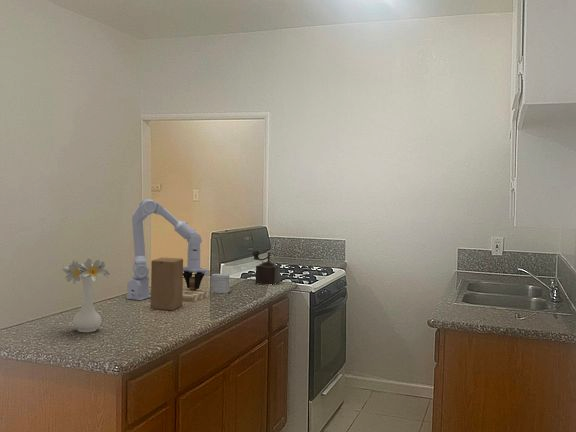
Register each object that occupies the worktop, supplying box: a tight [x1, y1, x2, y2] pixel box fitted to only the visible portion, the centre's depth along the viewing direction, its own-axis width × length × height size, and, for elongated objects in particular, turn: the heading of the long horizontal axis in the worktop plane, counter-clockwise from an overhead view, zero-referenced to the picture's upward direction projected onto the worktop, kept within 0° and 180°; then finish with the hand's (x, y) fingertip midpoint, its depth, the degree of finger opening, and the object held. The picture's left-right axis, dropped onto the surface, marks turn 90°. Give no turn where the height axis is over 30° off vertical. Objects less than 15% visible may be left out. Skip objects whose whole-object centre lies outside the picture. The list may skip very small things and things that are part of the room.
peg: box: [189, 276, 198, 291], centre depth 260 cm, size 4×4×6 cm
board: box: [182, 288, 210, 303], centre depth 256 cm, size 14×12×2 cm
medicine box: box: [210, 273, 230, 294], centre depth 270 cm, size 8×4×9 cm, turn 84°
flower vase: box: [62, 257, 110, 333], centre depth 195 cm, size 13×18×25 cm
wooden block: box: [150, 257, 184, 311], centre depth 235 cm, size 10×10×20 cm
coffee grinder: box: [252, 249, 281, 286], centre depth 297 cm, size 16×11×18 cm
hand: (193, 288), depth 261 cm, fingers closed on peg, 4 cm apart
